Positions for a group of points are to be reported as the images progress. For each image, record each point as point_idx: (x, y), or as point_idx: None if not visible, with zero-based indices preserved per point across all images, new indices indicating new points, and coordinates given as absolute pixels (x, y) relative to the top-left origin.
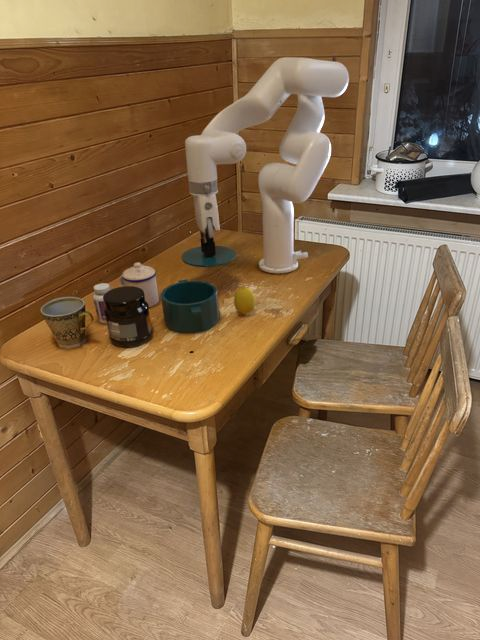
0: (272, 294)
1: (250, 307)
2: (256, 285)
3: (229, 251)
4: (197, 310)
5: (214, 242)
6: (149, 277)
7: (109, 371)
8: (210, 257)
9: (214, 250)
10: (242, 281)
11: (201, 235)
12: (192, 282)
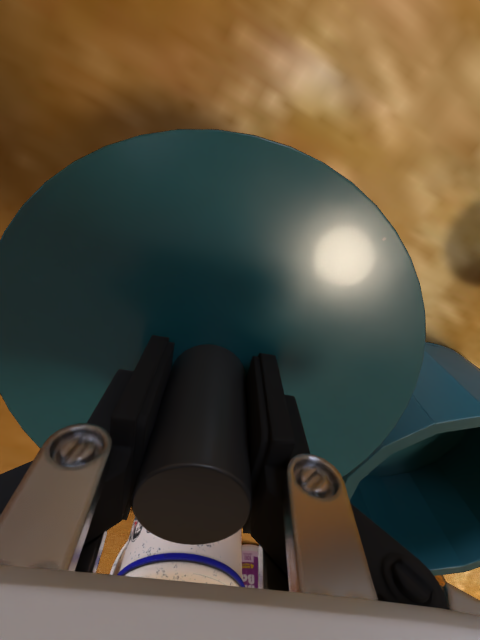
0: (452, 8)
1: None
2: (292, 33)
3: (224, 188)
4: None
5: (290, 436)
6: (238, 585)
7: (457, 584)
8: None
9: (278, 383)
10: (198, 87)
11: (102, 547)
12: (368, 470)
